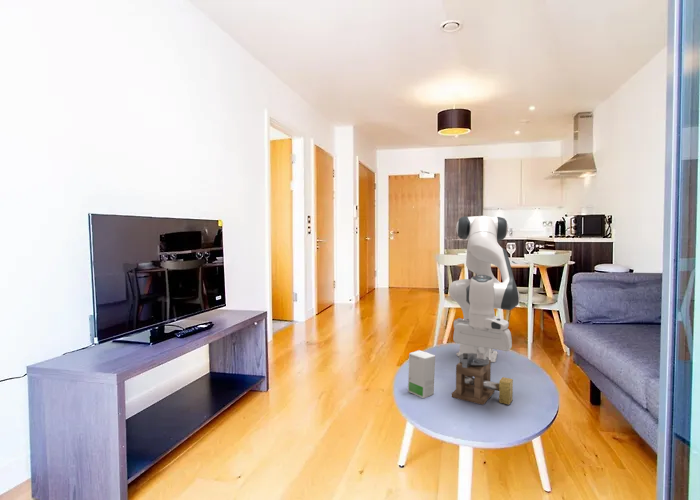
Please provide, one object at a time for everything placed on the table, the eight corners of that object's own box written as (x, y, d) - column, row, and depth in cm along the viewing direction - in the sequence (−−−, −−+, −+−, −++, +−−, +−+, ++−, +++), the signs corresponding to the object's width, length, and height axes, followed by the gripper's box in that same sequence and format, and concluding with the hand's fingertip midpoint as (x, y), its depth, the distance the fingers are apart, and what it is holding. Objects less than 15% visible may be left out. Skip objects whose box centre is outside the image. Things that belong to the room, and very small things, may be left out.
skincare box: (407, 392, 158) (407, 353, 157) (418, 387, 162) (418, 349, 161) (424, 399, 151) (424, 358, 150) (435, 394, 155) (435, 354, 154)
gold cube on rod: (460, 388, 160) (460, 368, 159) (512, 400, 148) (512, 379, 148) (456, 392, 156) (456, 371, 156) (509, 404, 145) (509, 383, 144)
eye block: (464, 385, 164) (464, 354, 163) (494, 391, 157) (495, 360, 156) (451, 397, 152) (451, 364, 152) (483, 405, 146) (483, 371, 145)
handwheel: (464, 355, 162) (464, 341, 161) (492, 360, 155) (492, 346, 155) (449, 366, 149) (450, 351, 149) (479, 372, 143) (479, 357, 142)
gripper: (450, 318, 148) (450, 356, 148) (508, 326, 136) (508, 366, 137) (456, 315, 153) (456, 351, 154) (513, 322, 141) (512, 361, 142)
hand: (481, 358), depth 145 cm, fingers closed
